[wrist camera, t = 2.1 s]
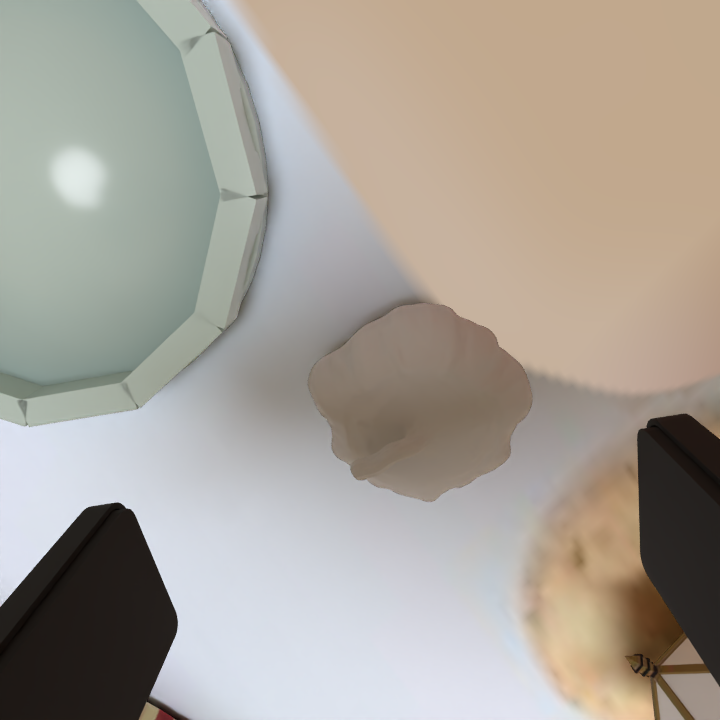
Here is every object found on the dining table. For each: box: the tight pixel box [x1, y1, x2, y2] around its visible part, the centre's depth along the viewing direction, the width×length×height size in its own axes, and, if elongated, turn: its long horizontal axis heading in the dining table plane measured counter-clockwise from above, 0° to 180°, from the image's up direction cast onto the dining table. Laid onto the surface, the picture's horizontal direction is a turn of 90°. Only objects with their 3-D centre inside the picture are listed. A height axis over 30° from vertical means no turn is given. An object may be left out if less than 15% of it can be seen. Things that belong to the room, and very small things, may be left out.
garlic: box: [308, 303, 532, 502], centre depth 14 cm, size 6×5×5 cm
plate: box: [0, 0, 268, 427], centre depth 14 cm, size 14×14×2 cm
